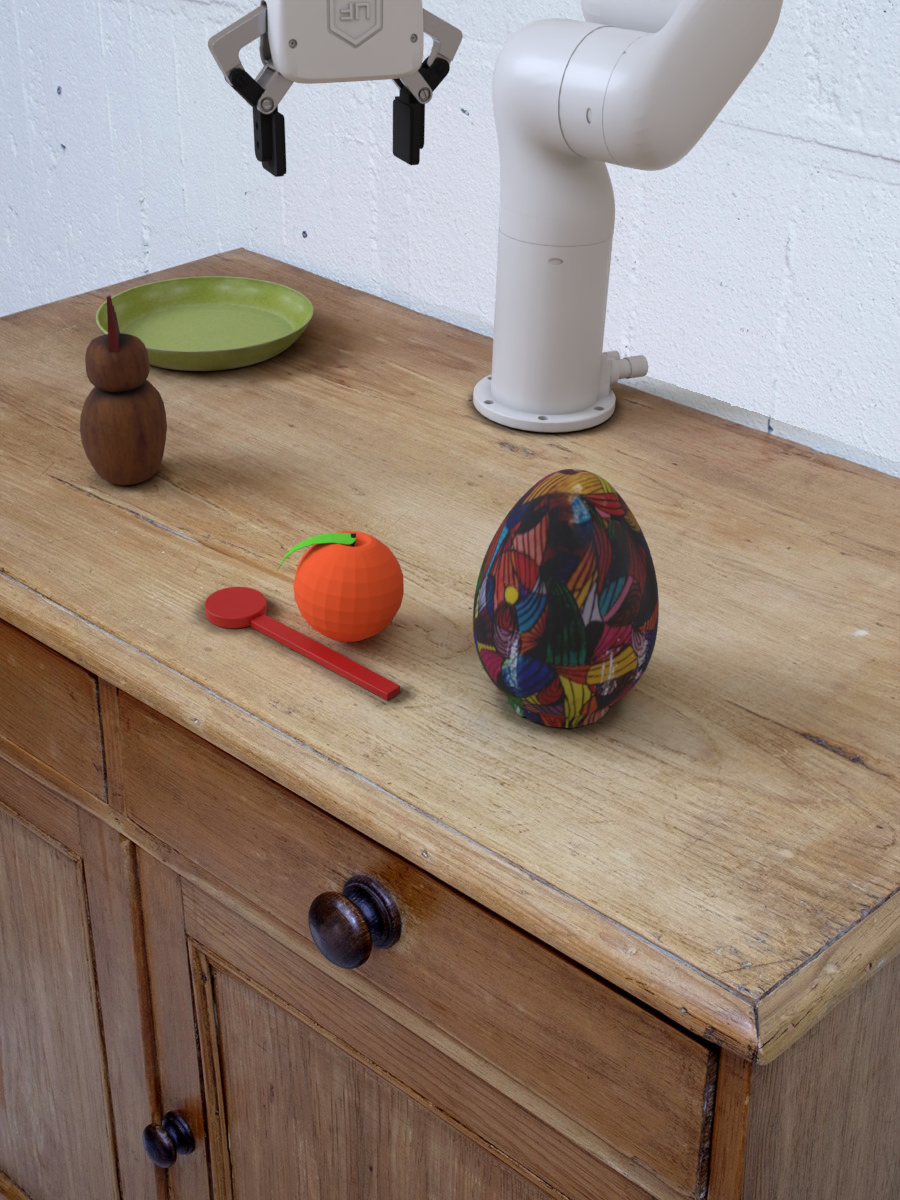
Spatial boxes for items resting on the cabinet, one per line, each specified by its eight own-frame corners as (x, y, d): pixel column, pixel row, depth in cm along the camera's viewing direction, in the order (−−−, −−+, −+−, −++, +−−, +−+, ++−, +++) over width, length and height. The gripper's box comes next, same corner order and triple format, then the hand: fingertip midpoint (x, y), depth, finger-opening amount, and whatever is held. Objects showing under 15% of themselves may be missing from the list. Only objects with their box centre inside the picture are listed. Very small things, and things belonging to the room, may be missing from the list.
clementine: (276, 661, 80) (281, 555, 77) (271, 608, 86) (276, 508, 83) (405, 662, 81) (416, 559, 78) (392, 610, 87) (401, 512, 84)
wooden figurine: (147, 498, 100) (127, 306, 92) (76, 489, 100) (50, 299, 93) (181, 461, 105) (164, 277, 97) (113, 453, 106) (92, 270, 98)
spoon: (416, 682, 80) (416, 671, 80) (371, 711, 77) (371, 700, 77) (238, 590, 89) (237, 579, 88) (192, 613, 86) (191, 602, 86)
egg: (632, 649, 84) (658, 433, 76) (661, 753, 75) (693, 520, 67) (465, 648, 83) (474, 431, 75) (474, 753, 74) (484, 519, 66)
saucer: (141, 299, 138) (138, 269, 136) (334, 314, 136) (334, 283, 134) (65, 372, 120) (61, 339, 119) (285, 390, 118) (284, 356, 116)
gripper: (218, -115, 75) (235, 190, 84) (489, -115, 81) (478, 169, 90) (182, -124, 80) (202, 163, 89) (438, -122, 87) (433, 145, 96)
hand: (341, 166), depth 90 cm, fingers open, 9 cm apart
